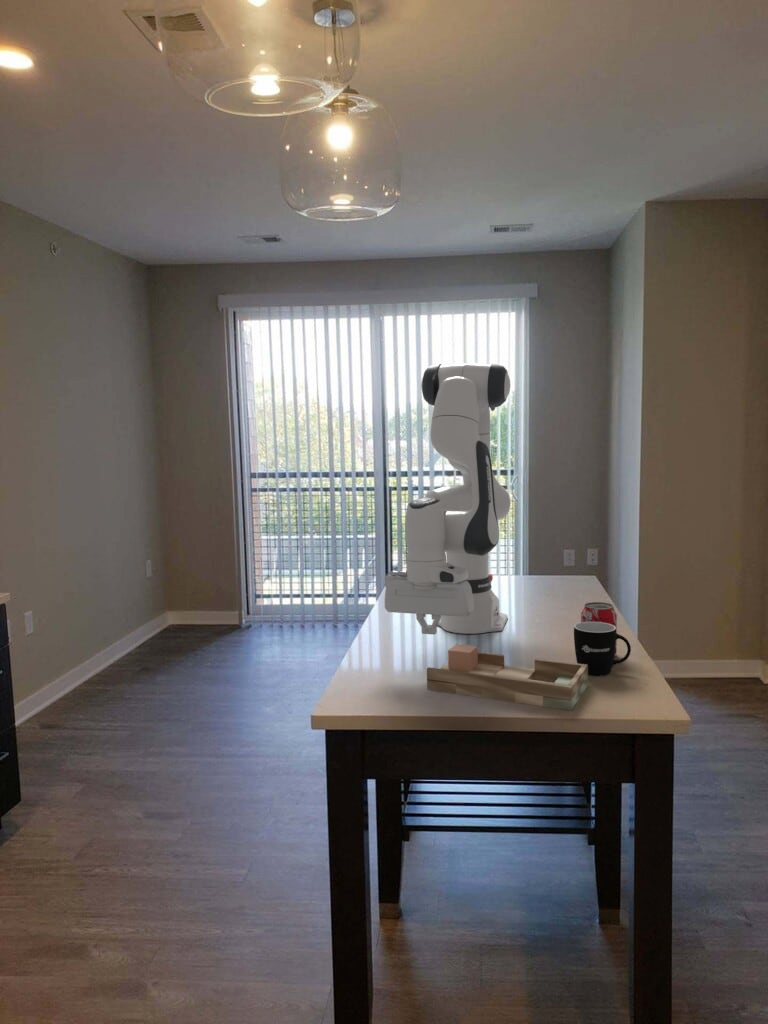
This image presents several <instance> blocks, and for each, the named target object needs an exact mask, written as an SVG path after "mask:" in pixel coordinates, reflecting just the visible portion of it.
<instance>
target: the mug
mask: <svg viewBox="0 0 768 1024" xmlns="http://www.w3.org/2000/svg"><path fill="white" fill-rule="evenodd" d="M618 639H619V640H622V641H623V642H624V643H625V644H626V647H627V650H626V651H627V652H626V654H625V655H624V656H623V657H622V658H619V659H615V655H616V654H615V647H616V640H617V641H618ZM573 640H574V641H573V642H574V651H575V652H574V653H575V659H576V663H578V664H586V665H588V676H590V677H601V676H602V677H604V676H607V675H609V674H610V673H611V671H612V669H613V667H614V666H615V665H619V664H622V663H624V662H626V660H627V659H629V657H630V656H631V652H632V651H631V650H632V648H631V647H632V646H631V644H630V641H629V640H628V638H626V637H625V636H623V635H621V634H619V633H616V627H615V626H614V625H611V624H608V623H603V622H581V621H580V622H578V623H575V624H574V626H573Z"/></svg>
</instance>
